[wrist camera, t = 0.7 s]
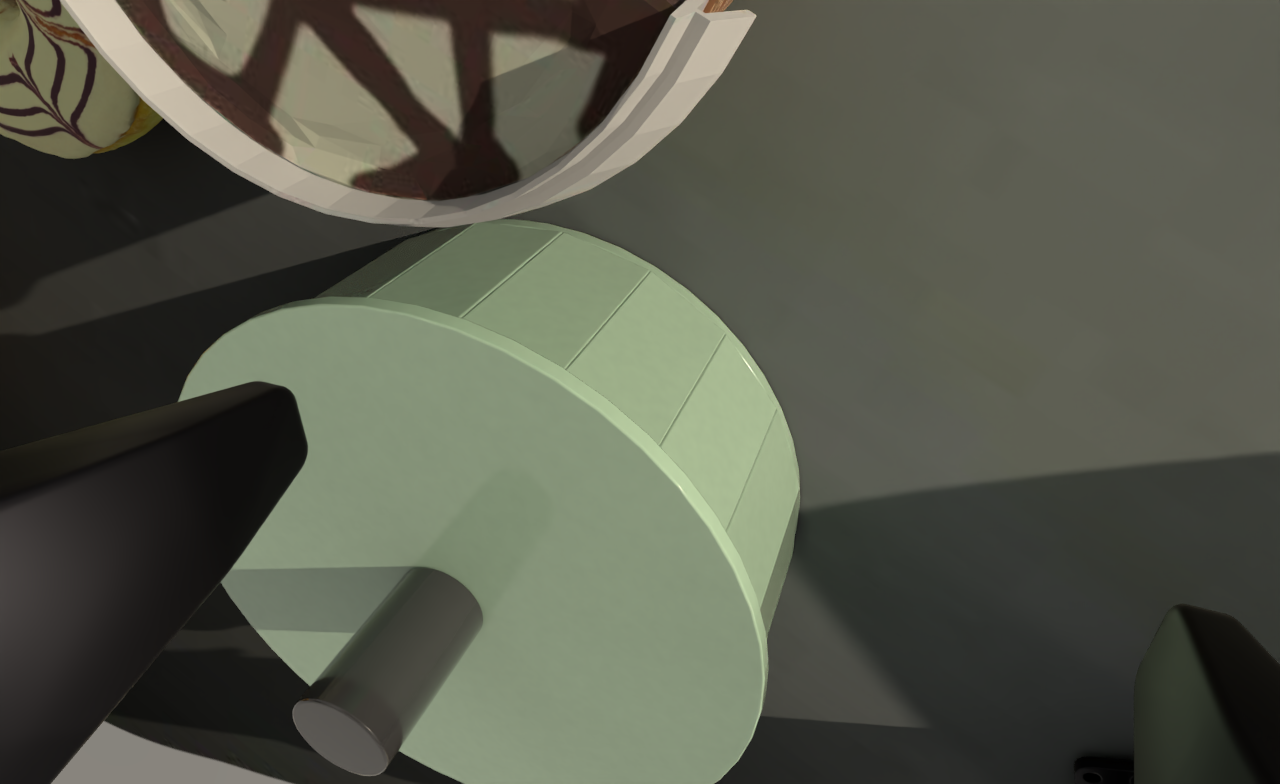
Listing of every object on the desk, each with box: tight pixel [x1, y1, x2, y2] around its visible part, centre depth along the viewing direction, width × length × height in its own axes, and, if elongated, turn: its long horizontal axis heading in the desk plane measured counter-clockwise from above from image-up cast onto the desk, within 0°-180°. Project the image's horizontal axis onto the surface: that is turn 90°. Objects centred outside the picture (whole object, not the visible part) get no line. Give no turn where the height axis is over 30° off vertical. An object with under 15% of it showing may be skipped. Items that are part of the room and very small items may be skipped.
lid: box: [178, 296, 769, 784], centre depth 21 cm, size 18×18×6 cm
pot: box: [313, 219, 800, 639], centre depth 25 cm, size 17×17×6 cm
